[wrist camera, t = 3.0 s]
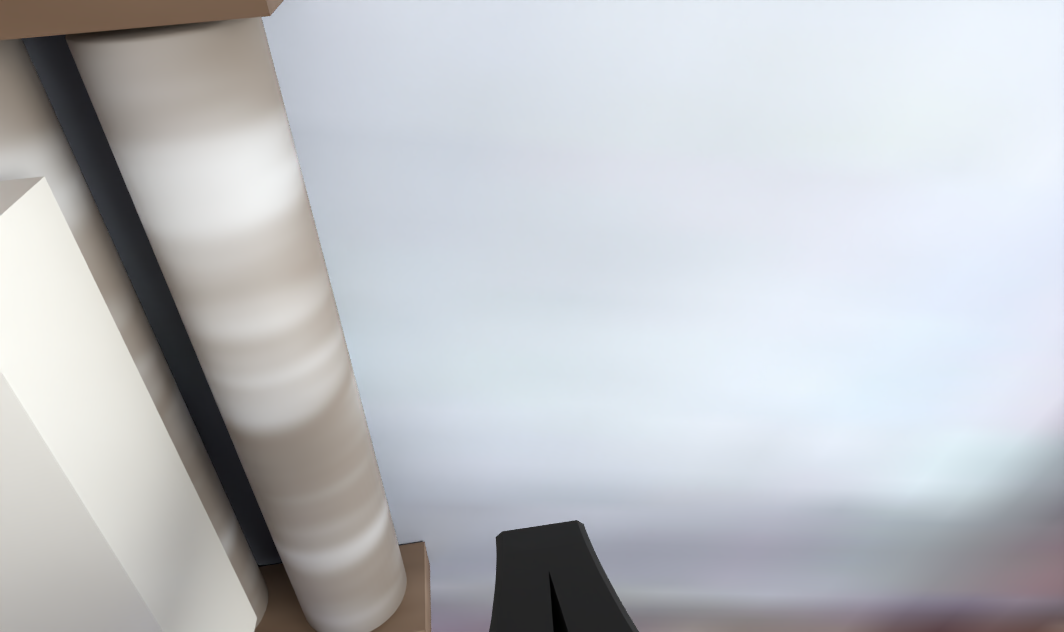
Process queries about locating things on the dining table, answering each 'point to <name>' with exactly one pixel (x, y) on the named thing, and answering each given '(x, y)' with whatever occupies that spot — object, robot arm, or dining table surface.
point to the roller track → (225, 289)
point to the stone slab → (90, 458)
